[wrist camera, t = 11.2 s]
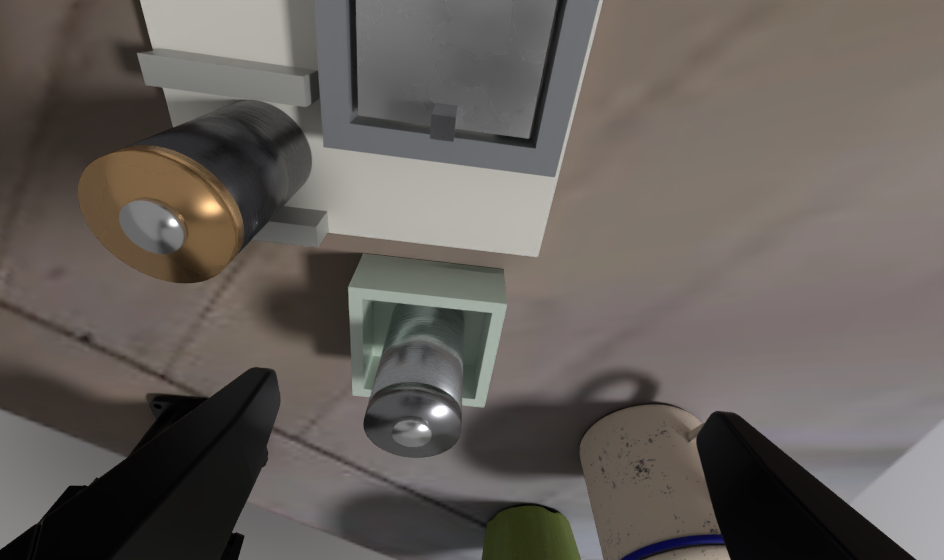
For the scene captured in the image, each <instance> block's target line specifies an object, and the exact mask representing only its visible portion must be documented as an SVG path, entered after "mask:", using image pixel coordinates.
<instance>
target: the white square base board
mask: <svg viewBox="0 0 944 560" xmlns="http://www.w3.org/2000/svg"><path fill="white" fill-rule="evenodd" d="M140 2H141V6H142V10H143V14H144V18H145V21H146V25H147V29H148V33H149V37H150V41H151V45H152V48H153V51H148V52H141V53H137V56H138V59H139V63H140V66H141V70H142V74H143V77H144V81H145V84H146V85H148V86H155V87H162V88H163V91H164V95H165V98H166V102H167V106H168V110H169V114H170V118H171V122H172V125H173V127H176V126H178V125H181V124H183V123H185V122H188V121H190V120H193V119H195V118H198V117H200V116H203V115H205V114H207V113H210V112H212V111H215V110H217V109H220V108H222V107H224V106H227V105H229V104H232V103H234V102H237V101H241V100H257V101H262V102H265V103H268V104H271V105H273V106H275V107H277V108H279V109H280V110H282V111H283V112H285V113H286V114H287V115H289V116H290V117H291V118H292V119H293V120H294V121H295V122H296V123H297V125H298V126H299V127H300V128H301V130H302V131H303V133H304V135H305V136H306V138H307V141H308V143H309V146H310V149H311V154H312V168H311V172H310V175H309V177H308V179H307V181H306V182H305V184H304V185H303V186H302V187H301V188H300V189H299V190H298V191H297V192H296V193H295V194H294V195H293V196H292V198H291V199H290V200H289V201H288V202H287V203H286V204H285V205H284V206H283V207H282V208H281V209H280V210H279V211H278V212H277V213H276V214H275V215H274V216H273V218H272V219H271V220H270V221H269V222H268V223H267V224H266V225H265V226H264V227H263V228H262V229H261V230H260V231H259V232H258V233H257V234H256V235H255V236H254V238H253V239H252V240H257V241H266V242H274V243H283V244H292V245H301V246H309V247H319V245H320V244H321V242H322V240H323V239H324V237H325V236H326V234H327V233H336V234H344V235H353V236H361V237H370V238H378V239H387V240H396V241H404V242H413V243H421V244H430V245H438V246H447V247H455V248H464V249H473V250H481V251H490V252H498V253H507V254H515V255H524V256H532V257H538V255H539V251H540V247H541V243H542V239H543V235H544V231H545V227H546V223H547V219H548V215H549V211H550V207H551V203H552V199H553V196H554V192H555V188H556V184H557V180H558V176H559V172H560V168H561V164H562V160H563V156H564V152H565V148H566V144H567V140H568V136H569V132H570V128H571V125H572V121H573V117H574V113H575V109H576V105H577V101H578V97H579V93H580V89H581V85H582V81H583V77H584V73H585V69H586V65H587V61H588V58H589V54H590V50H591V46H592V42H593V38H594V34H595V30H596V26H597V22H598V18H599V14H600V10H601V6H602V2H603V0H557V3H556V8H555V13H554V18H553V23H552V28H551V33H550V38H549V43H548V48H547V53H546V57H545V62H544V67H543V72H542V77H541V82H540V87H539V92H538V97H537V102H536V107H535V112H534V117H533V122H532V127H531V131H530V136H529V139H528V138H520V137H513V136H506V135H498V134H491V133H484V132H476V131H469V130H462V129H455V135H454V141H453V142H450V141H443V140H435V139H430V129H431V125H425V124H418V123H410V122H403V121H396V120H388V119H381V118H374V117H366V116H359V115H358V80H357V31H356V0H140Z"/></svg>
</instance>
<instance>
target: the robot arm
mask: <svg viewBox="0 0 944 560" xmlns="http://www.w3.org/2000/svg"><path fill="white" fill-rule="evenodd" d="M149 405H150V408H151V410H152V412H153V414H154V416H155V419H156V421H155V422H154V423H153V425H152V426H151V427H150V429H149V430H148V431H147V433H146V434H145V435H144V436H143V438H142V439H141V440H140V442H139V443H138V444H137V446H136V447H135V448H134V449H133V451H132V452H131V453H130V455H129V456H128V457H127V458H126V459H125V460H123V461H122V462H121V463H119V464H118V465H116V466H115V467H114V468H112V469H111V470H110V471H108V472H107V473H106V474H104V475H103V476H101V477H100V478H96V479H95V480H94V481H93V482H92V483H91V484H90V485H89V486H85V485H84V486H69V487H68V488H67V489H66V490H65V491H64V493H63V494H62V495H61V496H60V497H59V498H58V500H57V501H56V502H55V503H54V505H53V506H52V507H51V508H50V509H49V510H48V512H47V513H46V514H45V515H44V516H43V517H42V519H41V520H40V521H39V522H38V523H37V524H35V525H34V526H32V527H31V528H29V529H28V530H27V531H25V532H24V533H23V534H21V535H20V536H18V537H17V538H16V539H14V540H13V541H12V542H10V543H9V544H7V545H6V546H5V547H3V548H2V549H1V550H0V560H238V557H239V554H240V550H241V547H242V543H243V539H244V535H242V534H239V533H232V531H233V529H234V527H235V524H236V522H237V520H238V518H239V516H240V513H241V511H242V509H243V507H244V506H245V503H246V501H247V499H248V497H249V495H250V492H251V490H252V488H253V486H254V484H255V482H256V479H257V477H258V475H259V473H260V471H261V469H262V467H264V466H265V465H266V463H267V461H268V457H267V456H268V451H267V447H266V446H267V443H268V440H269V437H270V434H271V431H272V428H273V425H274V422H275V419H276V416H277V413H278V410H279V406H280V392H279V386H278V381H277V375H276V372H275V371H274V370H273V369H269V368H259V367H254V368H251V369H249V370H247V371H246V372H244V373H243V374H242V375H240V376H239V377H238V378H236V379H235V380H233V381H232V382H231V383H229V384H228V385H227V386H225V387H224V388H222V389H221V390H220V391H218V392H217V393H216V394H214V395H213V396H211V397H210V398H209V399H207V400H196V399H185V398H174V397H162V396H156V397H154V398H153V400H152V401H151V402H150V404H149ZM696 445H697V450H698V454H699V457H700V461H701V465H702V469H703V473H704V477H705V480H706V484H707V488H708V492H709V496H710V499H711V503H712V507H713V510H714V514H715V517H716V521H717V523H718V526H719V529H720V532H721V535H722V538H723V540H724V543H725V546H726V549H727V551H728V554H729V557H730V560H916V559H915V558H914V557H912V556H911V555H910V554H909V553H907V552H906V551H905V550H904V549H903V548H901V547H900V546H899V545H898V544H896V543H895V542H894V541H893V540H892V539H890V538H889V537H888V536H887V535H885V534H884V533H883V532H882V531H880V530H879V529H878V528H877V527H875V526H874V525H873V524H872V523H871V522H869V521H868V520H867V519H866V518H864V517H863V516H862V515H861V514H859V513H858V512H857V511H856V510H855V509H853V508H852V507H851V506H850V505H848V504H847V503H846V502H845V501H844V500H842V499H841V498H840V497H839V496H837V495H836V494H835V493H834V492H832V491H831V490H830V489H829V488H828V487H826V486H825V485H824V484H823V483H821V482H820V481H819V480H818V479H816V478H815V477H814V476H813V475H812V474H810V473H809V472H808V471H807V470H805V469H804V468H803V467H802V466H800V465H799V464H798V463H797V462H796V461H794V460H793V459H792V458H791V457H789V456H788V455H787V454H786V453H784V452H783V451H782V450H781V449H780V448H778V447H777V446H776V445H775V444H773V443H772V442H771V441H770V440H769V439H767V438H766V437H765V436H764V435H762V434H761V433H760V432H759V431H757V430H756V429H755V428H754V427H753V426H751V425H750V424H749V423H748V422H746V421H745V420H744V419H743V418H741V417H740V416H739V415H737V414H735V413H732V412H722V411H715V412H713V413H712V414H711V415H710V417H709V418H708V419H707V421H706V422H705V424H704V425H703V427H702V428H701V430H700V431H699V432H698V434H697V437H696Z"/></svg>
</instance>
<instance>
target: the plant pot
mask: <svg viewBox="0 0 944 560" xmlns="http://www.w3.org/2000/svg"><path fill="white" fill-rule="evenodd" d="M482 560H581V558H580V555H579V552H578V549H577V546H576V542H575V539H574V536H573V533H572V530H571V527H570V524H569V522H568V520H567V519H566V518H565V517H564V515H562V514H561V513H559V512H557V513H552V512H550V511H548V510H546V509H545V508H543V507H539V506H520V507H512V508H509V509H506V510H503V511H501V512H499V513H498V514H497V515H496V516H495V518H494V519H493V520H491V521H489V522H488V523H487V527H486V533H485V540H484V547H483V554H482Z"/></svg>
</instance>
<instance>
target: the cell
mask: <svg viewBox="0 0 944 560" xmlns="http://www.w3.org/2000/svg"><path fill="white" fill-rule="evenodd" d="M311 168H312V154H311V149H310V146H309V143H308V141H307V138H306V136H305V135H304V133H303V131H302V130H301V128H300V127H299V126H298V125H297V123H296V122H295V121H294V120H293V119H292V118H291V117H290V116H289V115H287V114H286V113H285V112H283V111H282V110H280V109H279V108H277V107H275V106H273V105H271V104H268V103H265V102H262V101H257V100H241V101H237V102H234V103H232V104H229V105H227V106H224V107H222V108H220V109H217V110H215V111H212V112H210V113H207V114H205V115H203V116H200V117H198V118H195V119H193V120H190V121H188V122H185V123H183V124H181V125H178V126H176V127H173V128H171V129H168V130H166V131H164V132H161V133H159V134H156V135H154V136H151V137H149V138H146V139H144V140H142V141H139V142H137V143H134V144H132V145H129V146H127V147H125V148H122V149H120V150H117V151H115V152H112V153H110V154H108V155H105V156H103V157H100V158H98V159H96V160H95V161H93V162H92V163H91V164H89V165H88V166H87V167H86V169H85V170H84V172H83V173H82V175H81V178H80V180H79V185H78V200H79V205H80V209H81V212H82V214H83V217H84V219H85V221H86V223H87V224H88V226H89V228H90V229H91V231H92V232H93V234H94V235H95V236H96V237H97V239H98V240H99V241H100V242H101V243H102V244H103V245H104V246H105V247H106V248H107V249H108V250H109V251H110V252H111V253H112V254H113V255H115V256H116V257H117V258H119V259H120V260H121V261H123V262H124V263H126V264H127V265H129V266H130V267H132V268H134V269H136V270H138V271H140V272H142V273H144V274H146V275H149V276H151V277H154V278H157V279H160V280H164V281H169V282H175V283H196V282H202V281H205V280H208V279H210V278H212V277H214V276H216V275H217V274H219V273H220V272H221V271H222V270H223V269H224V268H225V267H226V266H227V265H228V264H229V263H230V262H231V261H232V260H233V259H234V258H235V256H236V255H237V254H238V253H239V252H240V251H241V250H242V249H243V248H244V247H245V246H246V245H247V244H248V243H249V242H250V241H251V240H252V239H253V238H254V236H255V235H256V234H257V233H258V232H259V231H260V230H261V229H262V228H263V227H264V226H265V225H266V224H267V223H268V222H269V221H270V220H271V219H272V218H273V216H274V215H275V214H276V213H277V212H278V211H279V210H280V209H281V208H282V207H283V206H284V205H285V204H286V203H287V202H288V201H289V200H290V199H291V198H292V196H293V195H294V194H295V193H296V192H297V191H298V190H299V189H300V188H301V187H302V186H303V185H304V184H305V182H306V181H307V179H308V177H309V175H310V172H311Z"/></svg>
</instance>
